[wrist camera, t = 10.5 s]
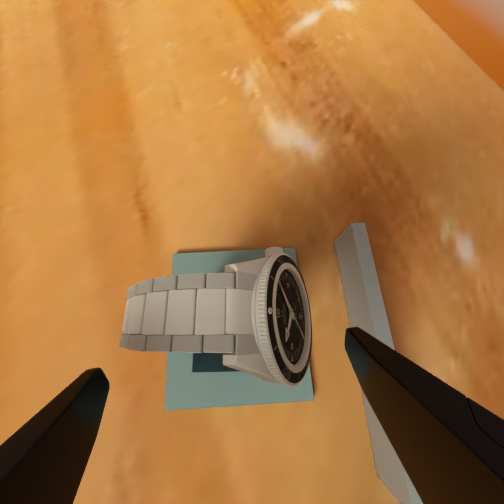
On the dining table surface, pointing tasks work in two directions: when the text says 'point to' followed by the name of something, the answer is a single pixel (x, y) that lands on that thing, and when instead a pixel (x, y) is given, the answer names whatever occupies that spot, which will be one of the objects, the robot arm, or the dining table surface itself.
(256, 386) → the mat
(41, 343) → the dining table surface
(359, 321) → the acrylic wall
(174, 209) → the dining table surface
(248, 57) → the dining table surface
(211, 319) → the watch
